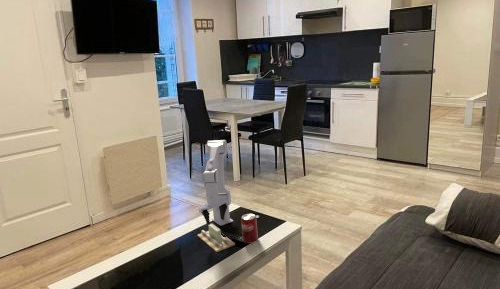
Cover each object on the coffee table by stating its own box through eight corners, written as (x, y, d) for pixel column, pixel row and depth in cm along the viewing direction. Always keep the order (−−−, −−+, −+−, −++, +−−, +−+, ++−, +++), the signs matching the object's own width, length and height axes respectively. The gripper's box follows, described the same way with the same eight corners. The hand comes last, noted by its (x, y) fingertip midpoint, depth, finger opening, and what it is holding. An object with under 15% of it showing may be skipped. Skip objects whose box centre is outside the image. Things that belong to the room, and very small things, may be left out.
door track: (197, 236, 183) (197, 231, 182) (215, 229, 188) (214, 225, 188) (216, 252, 166) (215, 247, 166) (235, 244, 172) (234, 240, 171)
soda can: (252, 245, 170) (249, 221, 167) (239, 241, 174) (237, 218, 172) (261, 238, 176) (259, 215, 173) (249, 234, 180) (247, 212, 177)
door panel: (209, 236, 180) (208, 224, 179) (213, 234, 181) (211, 223, 180) (218, 242, 173) (216, 231, 172) (221, 241, 174) (220, 229, 173)
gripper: (202, 201, 166) (205, 229, 169) (230, 193, 173) (232, 219, 176) (195, 197, 171) (198, 224, 175) (222, 189, 179) (225, 215, 182)
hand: (215, 221), depth 176 cm, fingers open, 7 cm apart
